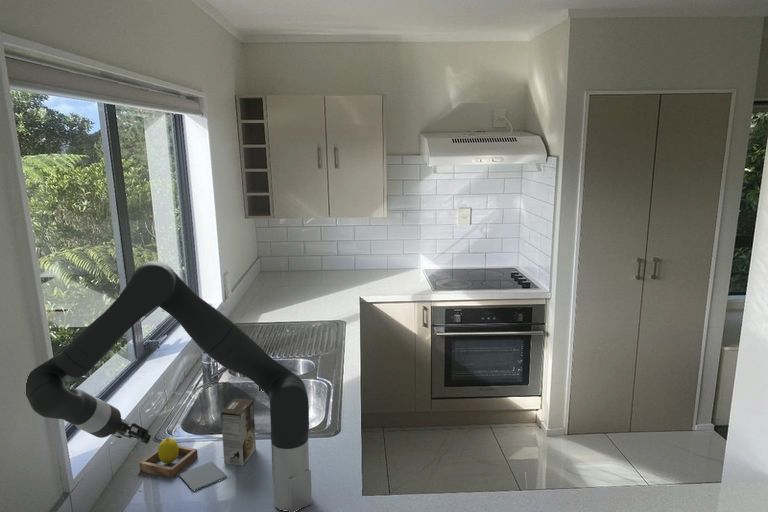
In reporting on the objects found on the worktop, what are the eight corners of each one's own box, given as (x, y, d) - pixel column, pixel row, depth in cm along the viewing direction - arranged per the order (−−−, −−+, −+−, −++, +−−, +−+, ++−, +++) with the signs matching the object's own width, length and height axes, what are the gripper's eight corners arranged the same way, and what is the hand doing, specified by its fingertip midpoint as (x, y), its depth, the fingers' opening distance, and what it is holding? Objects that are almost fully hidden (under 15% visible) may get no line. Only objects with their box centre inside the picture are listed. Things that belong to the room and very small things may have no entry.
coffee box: (236, 447, 163) (233, 397, 160) (256, 449, 162) (254, 399, 159) (223, 464, 154) (219, 412, 151) (244, 466, 153) (241, 413, 150)
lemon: (161, 471, 151) (159, 445, 149) (157, 462, 155) (154, 437, 154) (182, 465, 154) (180, 439, 152) (176, 456, 158) (174, 431, 157)
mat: (227, 477, 148) (227, 475, 148) (193, 491, 142) (193, 490, 142) (212, 462, 155) (211, 461, 155) (178, 475, 149) (178, 474, 149)
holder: (197, 456, 158) (197, 449, 158) (172, 478, 148) (171, 469, 147) (166, 450, 161) (166, 443, 161) (139, 470, 151) (139, 462, 151)
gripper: (127, 405, 128) (163, 427, 141) (80, 397, 132) (120, 418, 145) (111, 437, 124) (151, 456, 137) (64, 427, 128) (106, 446, 141)
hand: (135, 437), depth 141 cm, fingers open, 8 cm apart
